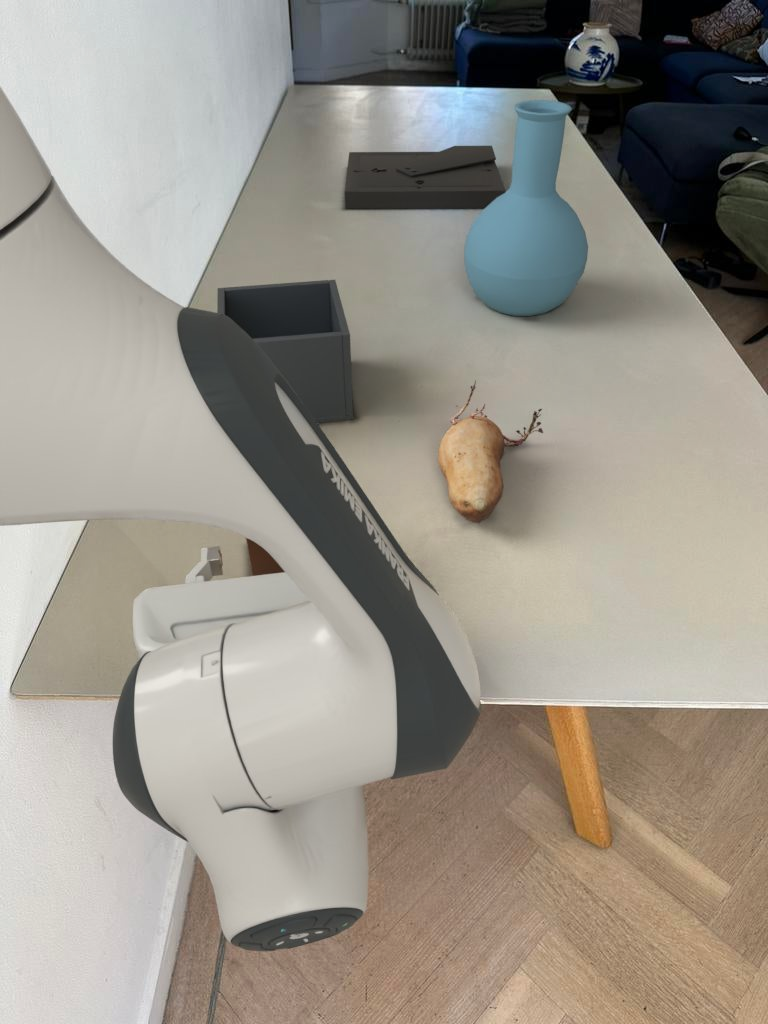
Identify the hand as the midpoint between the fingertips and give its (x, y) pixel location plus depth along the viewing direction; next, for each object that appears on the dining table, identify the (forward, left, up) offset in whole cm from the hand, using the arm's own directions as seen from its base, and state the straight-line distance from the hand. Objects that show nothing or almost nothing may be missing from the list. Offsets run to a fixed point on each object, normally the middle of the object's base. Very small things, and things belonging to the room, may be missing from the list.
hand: (271, 545), depth 61 cm
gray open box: (+3, +32, -6) cm, 33 cm away
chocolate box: (0, +3, -6) cm, 7 cm away
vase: (+37, +51, -6) cm, 64 cm away
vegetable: (+22, +11, -6) cm, 26 cm away
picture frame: (+33, +101, -6) cm, 107 cm away
